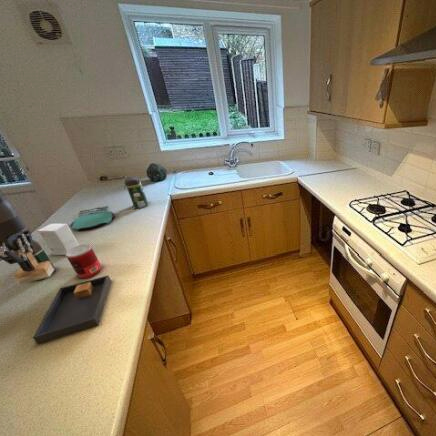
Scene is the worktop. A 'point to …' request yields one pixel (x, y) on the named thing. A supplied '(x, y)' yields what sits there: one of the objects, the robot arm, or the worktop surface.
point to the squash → (156, 172)
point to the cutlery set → (92, 218)
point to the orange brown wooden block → (83, 290)
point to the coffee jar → (136, 192)
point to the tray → (73, 311)
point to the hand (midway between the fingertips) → (31, 266)
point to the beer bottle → (40, 255)
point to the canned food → (84, 261)
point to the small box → (58, 238)
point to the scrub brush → (34, 270)
